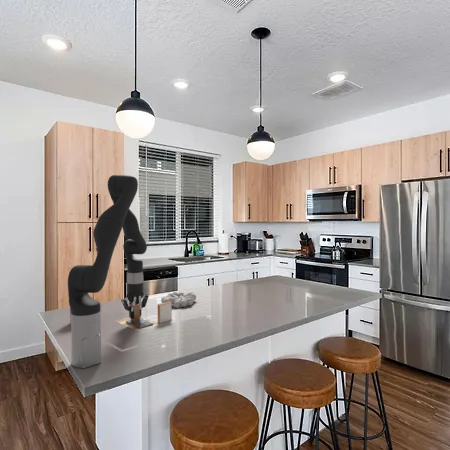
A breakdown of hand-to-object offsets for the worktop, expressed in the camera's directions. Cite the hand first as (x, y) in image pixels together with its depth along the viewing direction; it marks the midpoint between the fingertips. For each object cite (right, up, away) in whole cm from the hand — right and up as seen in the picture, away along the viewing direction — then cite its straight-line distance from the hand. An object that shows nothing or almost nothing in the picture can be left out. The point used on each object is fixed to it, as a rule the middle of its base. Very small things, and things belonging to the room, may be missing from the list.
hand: (135, 317), depth 149 cm
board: (+1, -3, -1) cm, 3 cm away
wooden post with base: (+3, -2, -2) cm, 4 cm away
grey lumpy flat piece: (+15, -3, +36) cm, 40 cm away
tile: (+13, -3, +2) cm, 14 cm away
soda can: (-28, -3, +1) cm, 28 cm away
